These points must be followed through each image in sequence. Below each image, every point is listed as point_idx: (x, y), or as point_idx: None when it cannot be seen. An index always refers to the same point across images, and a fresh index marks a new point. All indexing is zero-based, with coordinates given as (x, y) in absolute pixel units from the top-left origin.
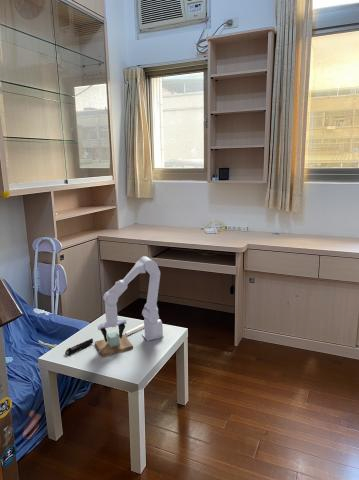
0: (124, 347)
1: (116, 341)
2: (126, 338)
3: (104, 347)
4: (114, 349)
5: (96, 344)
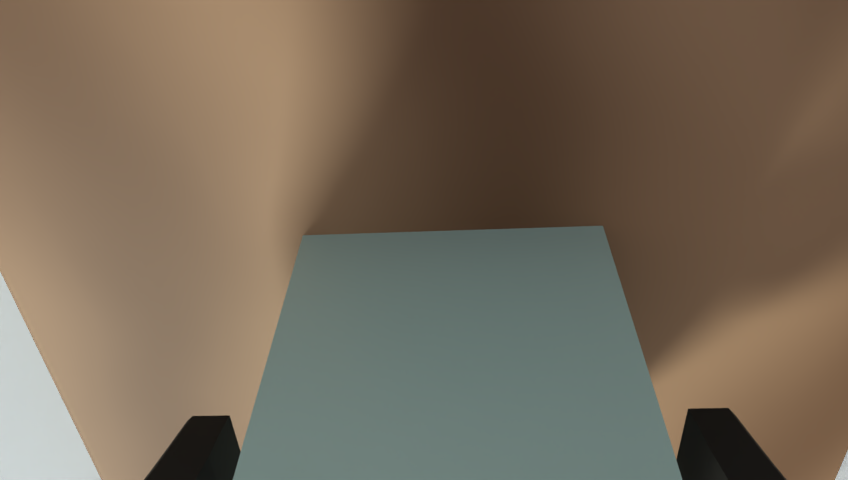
0: (179, 11)
1: (392, 323)
2: (95, 424)
3: (755, 281)
4: (537, 42)
5: (838, 467)
